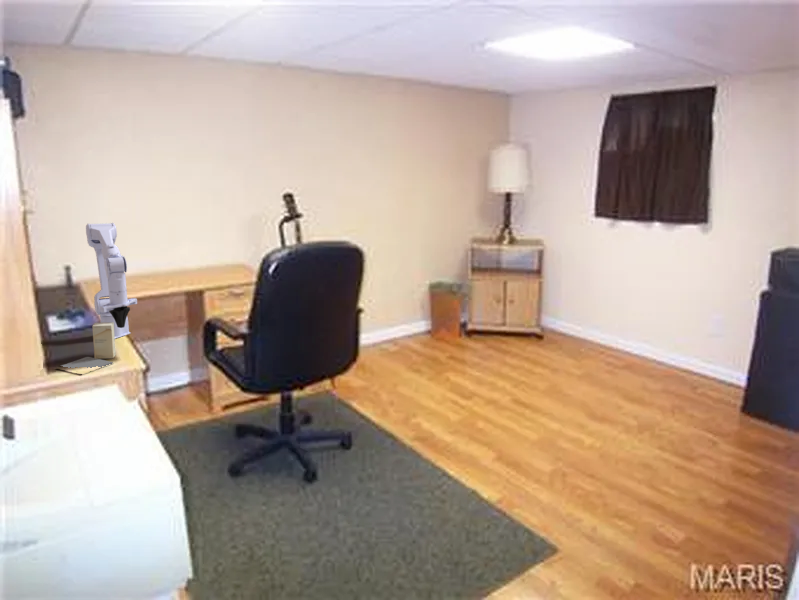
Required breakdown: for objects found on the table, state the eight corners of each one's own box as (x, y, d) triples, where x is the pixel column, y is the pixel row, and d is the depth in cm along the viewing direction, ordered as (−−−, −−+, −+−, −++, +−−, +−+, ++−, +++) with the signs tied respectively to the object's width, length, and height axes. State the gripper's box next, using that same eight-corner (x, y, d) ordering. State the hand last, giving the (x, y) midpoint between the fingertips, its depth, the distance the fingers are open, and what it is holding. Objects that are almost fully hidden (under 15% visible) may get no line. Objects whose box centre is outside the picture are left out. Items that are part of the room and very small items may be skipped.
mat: (87, 358, 200) (87, 356, 200) (113, 363, 195) (112, 362, 195) (56, 369, 189) (55, 367, 189) (82, 375, 185) (82, 373, 184)
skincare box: (94, 359, 199) (91, 325, 196) (97, 355, 203) (94, 322, 200) (114, 358, 201) (111, 325, 198) (116, 354, 205) (113, 321, 202)
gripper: (109, 296, 195) (112, 334, 199) (142, 288, 208) (145, 323, 212) (94, 293, 198) (97, 331, 201) (127, 285, 211) (130, 321, 214)
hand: (120, 327), depth 207 cm, fingers closed
